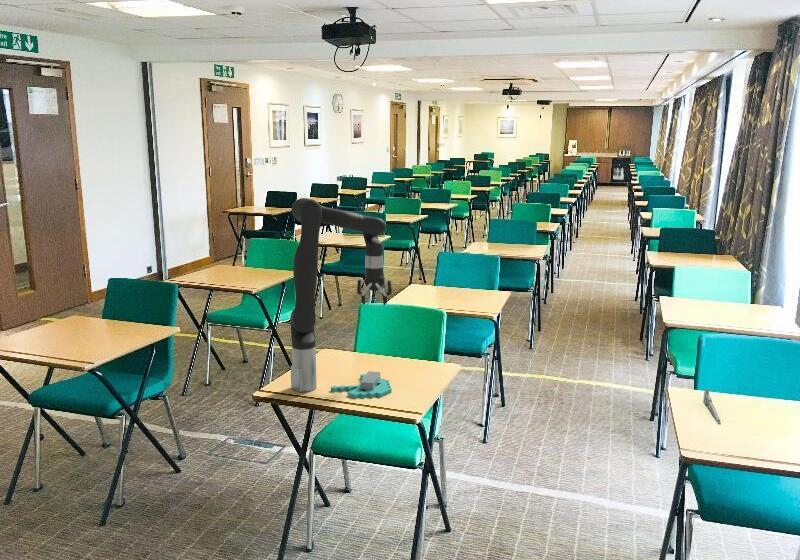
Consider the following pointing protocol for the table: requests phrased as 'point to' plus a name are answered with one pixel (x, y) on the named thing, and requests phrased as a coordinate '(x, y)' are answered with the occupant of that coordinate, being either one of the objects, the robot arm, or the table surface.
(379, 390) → the alien figure
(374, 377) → the grey rectangular block
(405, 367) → the table surface
